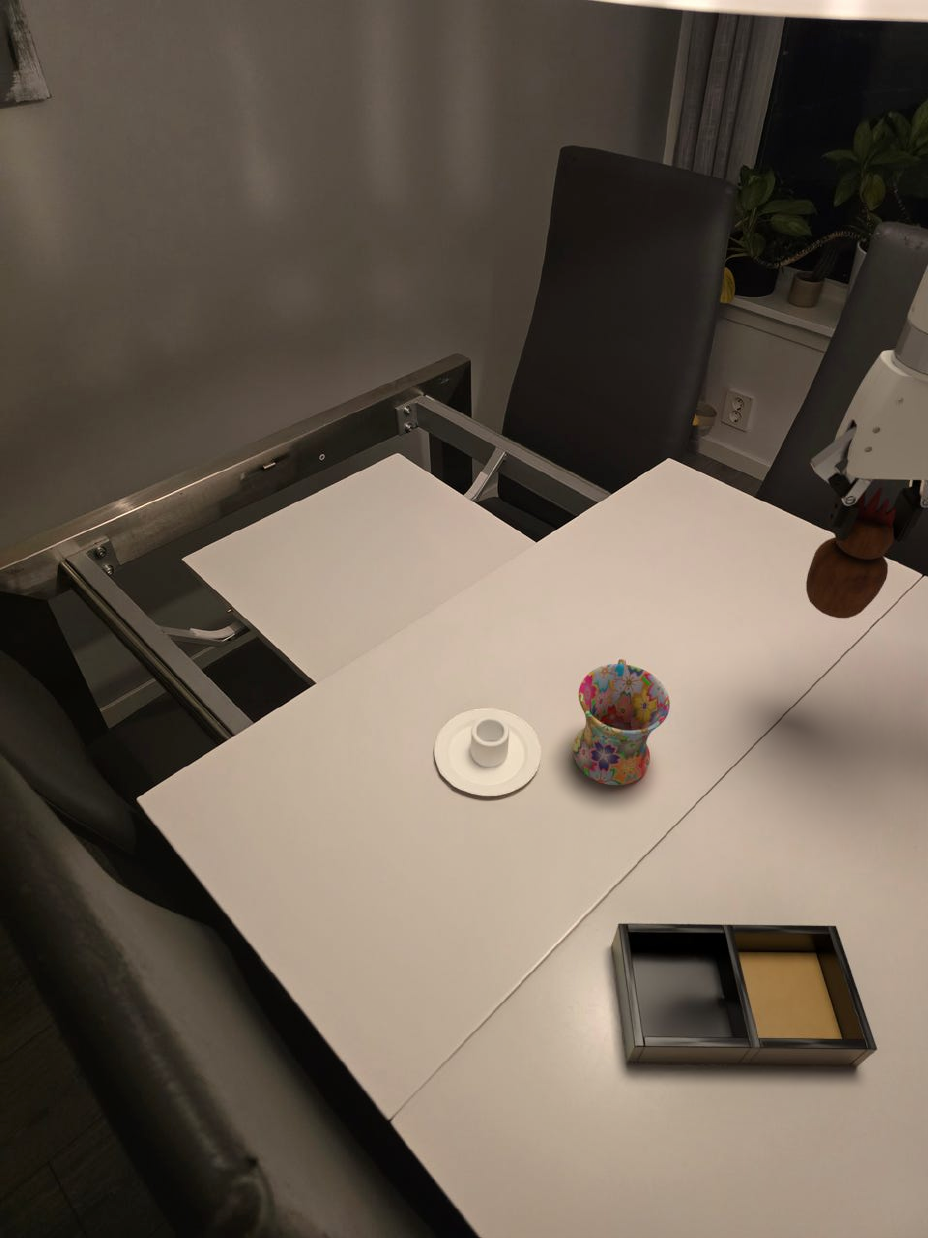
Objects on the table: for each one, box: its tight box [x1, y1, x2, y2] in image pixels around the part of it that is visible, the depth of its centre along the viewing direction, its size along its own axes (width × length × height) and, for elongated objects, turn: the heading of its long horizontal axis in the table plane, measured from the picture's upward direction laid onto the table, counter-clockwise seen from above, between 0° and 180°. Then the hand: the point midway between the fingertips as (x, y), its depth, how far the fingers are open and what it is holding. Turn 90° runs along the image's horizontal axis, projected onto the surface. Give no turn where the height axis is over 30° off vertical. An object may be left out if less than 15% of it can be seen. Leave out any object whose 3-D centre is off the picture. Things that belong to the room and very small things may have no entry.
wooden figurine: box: [805, 486, 896, 619], centre depth 75 cm, size 7×6×15 cm
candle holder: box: [433, 707, 542, 797], centre depth 87 cm, size 12×12×4 cm
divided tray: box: [610, 922, 878, 1068], centre depth 68 cm, size 19×10×5 cm, turn 89°
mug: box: [572, 658, 671, 786], centre depth 85 cm, size 12×9×11 cm
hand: (866, 530), depth 74 cm, fingers closed on wooden figurine, 4 cm apart
